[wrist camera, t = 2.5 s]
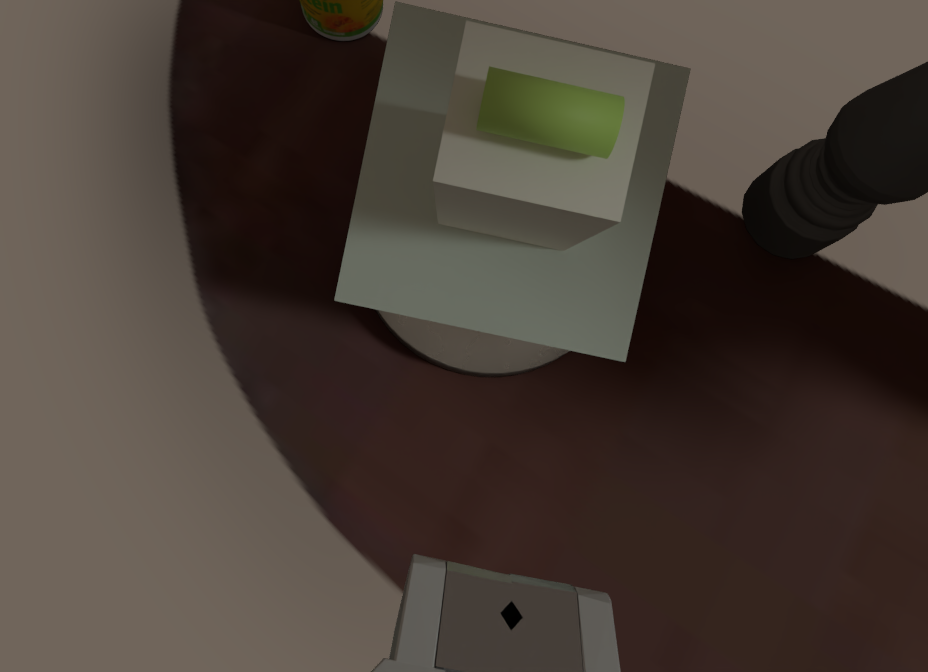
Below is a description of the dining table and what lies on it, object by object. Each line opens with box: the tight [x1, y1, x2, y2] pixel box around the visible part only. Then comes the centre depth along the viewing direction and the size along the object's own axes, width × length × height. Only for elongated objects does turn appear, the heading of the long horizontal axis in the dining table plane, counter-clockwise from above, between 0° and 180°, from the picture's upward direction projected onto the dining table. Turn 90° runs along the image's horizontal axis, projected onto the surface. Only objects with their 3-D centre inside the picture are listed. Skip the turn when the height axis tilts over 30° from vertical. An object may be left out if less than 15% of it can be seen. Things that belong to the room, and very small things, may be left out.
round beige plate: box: [375, 309, 570, 377], centre depth 36 cm, size 16×16×8 cm
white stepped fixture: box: [334, 2, 690, 362], centre depth 25 cm, size 14×14×13 cm
